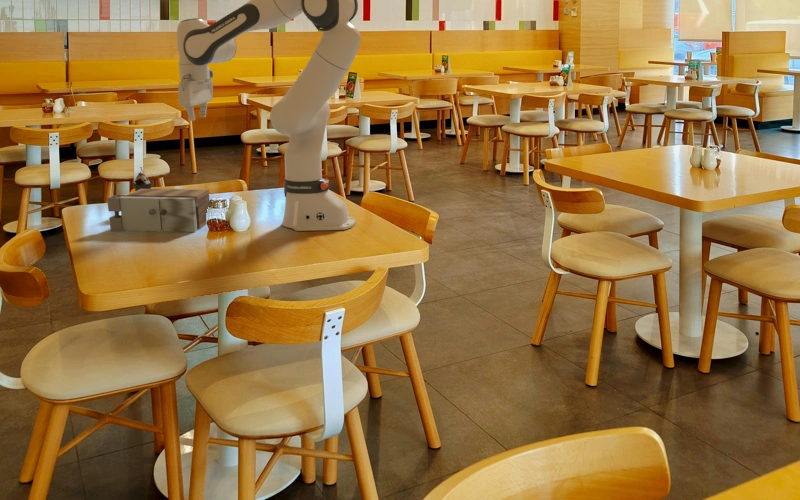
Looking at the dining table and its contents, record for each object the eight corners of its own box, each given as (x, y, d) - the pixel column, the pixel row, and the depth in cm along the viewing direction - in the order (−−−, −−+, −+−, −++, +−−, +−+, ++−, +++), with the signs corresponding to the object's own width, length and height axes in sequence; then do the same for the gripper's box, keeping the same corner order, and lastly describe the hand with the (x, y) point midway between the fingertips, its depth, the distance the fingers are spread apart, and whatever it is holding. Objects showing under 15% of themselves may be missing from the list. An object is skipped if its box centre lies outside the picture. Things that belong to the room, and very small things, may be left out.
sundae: (148, 210, 261) (143, 165, 257) (159, 212, 257) (155, 167, 253) (130, 213, 256) (126, 168, 252) (142, 216, 252) (137, 170, 248)
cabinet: (211, 221, 246) (208, 189, 243) (193, 233, 231) (190, 200, 228) (135, 219, 248) (132, 188, 245) (113, 231, 234) (109, 198, 231)
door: (165, 229, 236) (162, 196, 233) (159, 232, 232) (156, 199, 229) (116, 228, 238) (112, 195, 235) (110, 231, 234) (106, 198, 231)
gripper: (191, 75, 230) (195, 122, 234) (215, 71, 250) (218, 115, 254) (171, 75, 231) (175, 122, 235) (196, 71, 251) (199, 115, 254)
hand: (197, 118), depth 244 cm, fingers open, 8 cm apart
